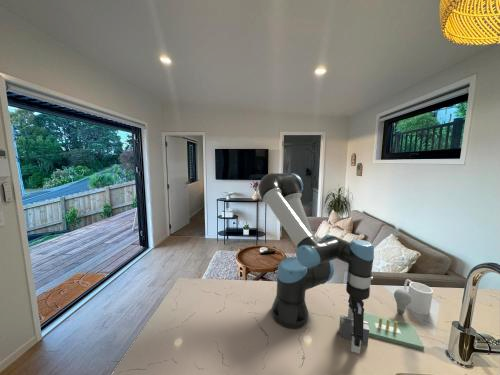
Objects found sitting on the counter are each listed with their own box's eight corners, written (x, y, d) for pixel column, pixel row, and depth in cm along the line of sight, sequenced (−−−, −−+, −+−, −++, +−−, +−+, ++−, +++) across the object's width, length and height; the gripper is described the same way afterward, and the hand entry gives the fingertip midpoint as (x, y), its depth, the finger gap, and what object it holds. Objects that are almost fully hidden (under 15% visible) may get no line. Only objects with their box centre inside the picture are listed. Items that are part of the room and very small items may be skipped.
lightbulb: (411, 320, 88) (415, 295, 87) (395, 317, 90) (398, 293, 88) (404, 310, 94) (407, 287, 93) (389, 307, 96) (392, 285, 94)
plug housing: (339, 337, 79) (341, 322, 78) (339, 329, 83) (340, 314, 82) (367, 345, 76) (369, 329, 75) (365, 336, 80) (367, 321, 79)
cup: (410, 296, 104) (413, 277, 103) (434, 313, 93) (438, 292, 91) (395, 297, 103) (398, 278, 102) (418, 315, 91) (421, 294, 90)
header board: (360, 333, 81) (361, 322, 80) (356, 313, 91) (357, 303, 91) (423, 350, 75) (425, 338, 74) (411, 326, 85) (413, 316, 84)
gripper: (378, 308, 63) (371, 371, 66) (364, 269, 86) (359, 316, 89) (350, 302, 66) (344, 362, 69) (344, 265, 89) (339, 312, 92)
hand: (352, 336), depth 79 cm, fingers open, 12 cm apart
